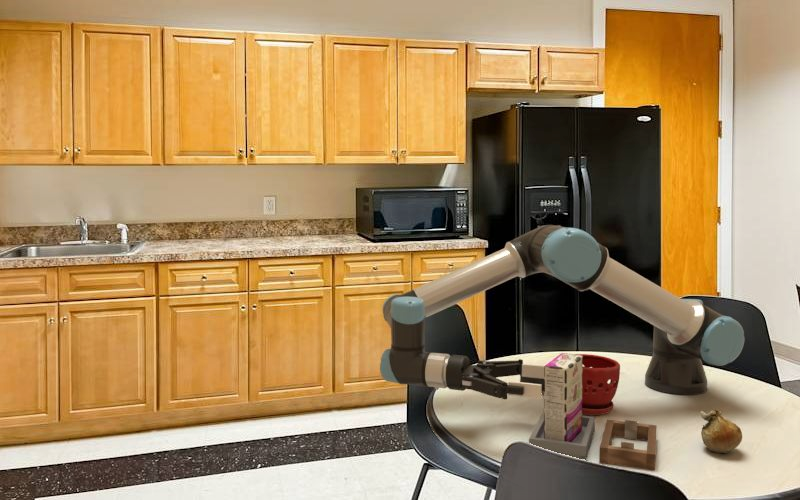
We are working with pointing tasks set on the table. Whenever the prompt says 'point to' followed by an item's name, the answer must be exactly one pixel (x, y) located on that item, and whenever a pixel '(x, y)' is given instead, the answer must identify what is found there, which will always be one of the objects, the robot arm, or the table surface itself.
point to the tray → (573, 448)
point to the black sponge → (533, 381)
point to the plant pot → (598, 384)
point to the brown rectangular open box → (628, 444)
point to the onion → (720, 433)
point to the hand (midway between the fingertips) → (547, 381)
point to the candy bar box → (563, 397)
